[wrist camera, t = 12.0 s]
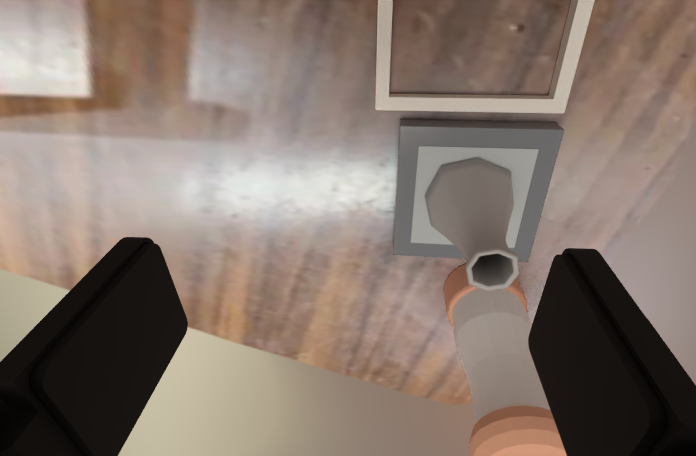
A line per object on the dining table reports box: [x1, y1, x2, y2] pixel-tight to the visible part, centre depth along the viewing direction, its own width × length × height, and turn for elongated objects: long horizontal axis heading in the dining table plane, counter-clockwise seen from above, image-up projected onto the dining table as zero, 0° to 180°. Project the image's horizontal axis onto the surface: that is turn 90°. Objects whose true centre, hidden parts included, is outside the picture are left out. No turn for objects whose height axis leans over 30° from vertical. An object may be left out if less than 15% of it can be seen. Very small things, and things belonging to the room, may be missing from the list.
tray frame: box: [375, 0, 595, 113], centre depth 27 cm, size 14×14×1 cm
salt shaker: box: [444, 264, 567, 456], centre depth 32 cm, size 7×7×19 cm
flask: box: [425, 158, 519, 291], centre depth 28 cm, size 7×7×10 cm
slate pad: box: [393, 119, 564, 262], centre depth 33 cm, size 12×12×2 cm
